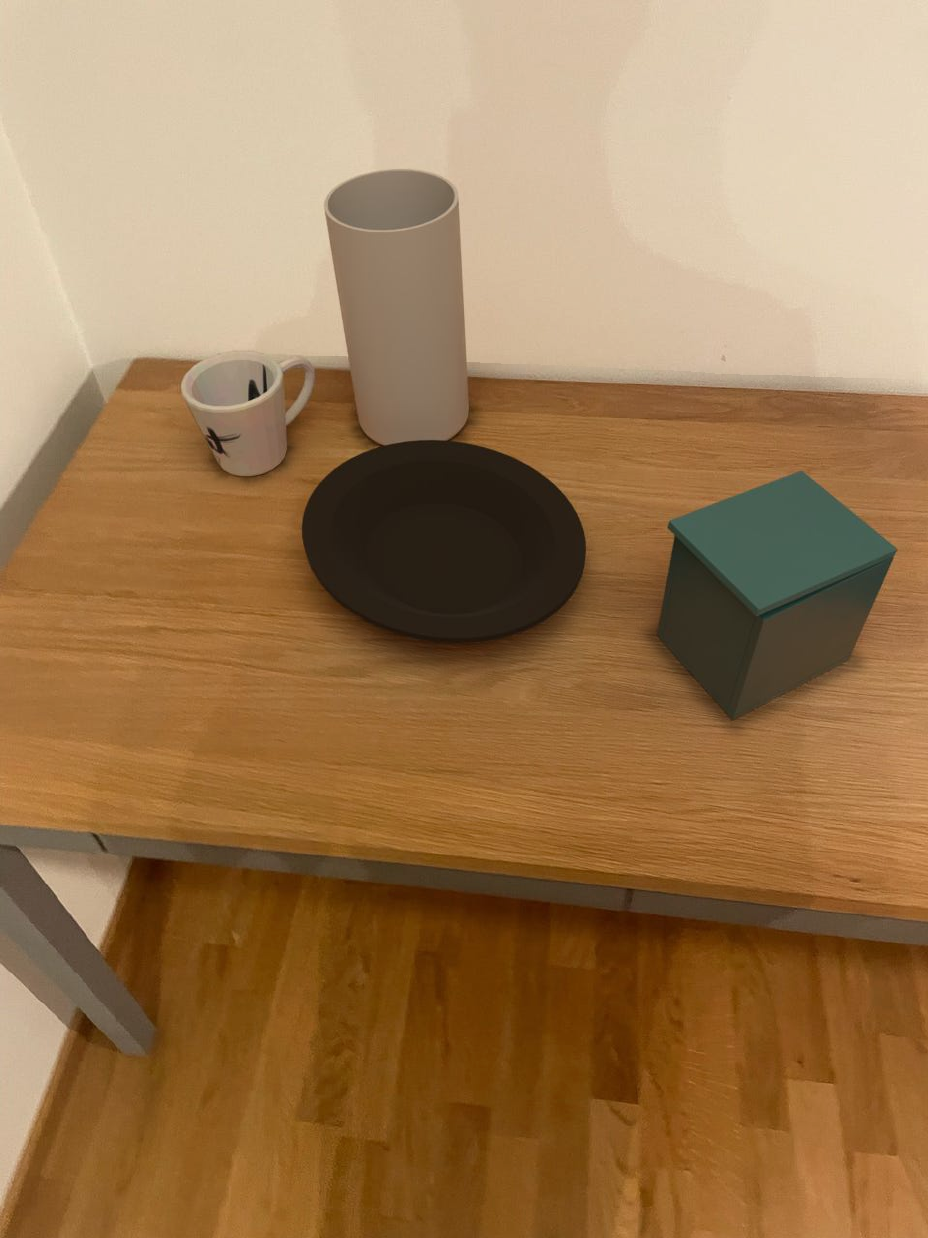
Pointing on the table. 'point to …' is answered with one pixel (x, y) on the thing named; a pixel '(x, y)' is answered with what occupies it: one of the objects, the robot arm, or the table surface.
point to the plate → (444, 541)
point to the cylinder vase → (401, 302)
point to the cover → (780, 541)
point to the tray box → (759, 632)
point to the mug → (244, 407)
